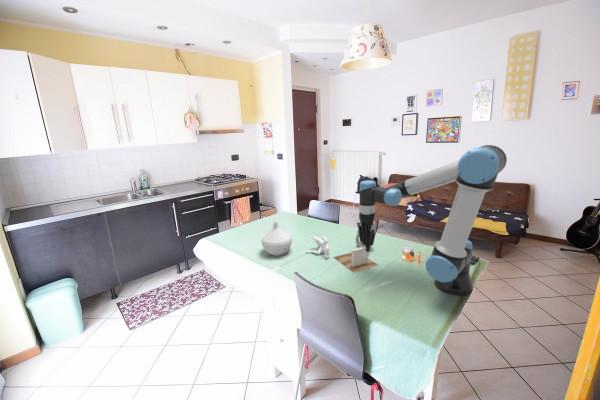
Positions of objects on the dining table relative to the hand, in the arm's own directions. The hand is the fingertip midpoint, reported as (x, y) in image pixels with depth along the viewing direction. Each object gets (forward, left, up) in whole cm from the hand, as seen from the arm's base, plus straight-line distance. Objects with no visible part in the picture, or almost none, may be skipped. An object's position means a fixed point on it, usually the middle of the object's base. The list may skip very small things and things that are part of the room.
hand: (366, 256), depth 142 cm
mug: (+20, -14, -8) cm, 26 cm away
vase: (+44, +32, -8) cm, 55 cm away
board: (+9, 0, -8) cm, 12 cm away
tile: (+5, 0, -7) cm, 9 cm away
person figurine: (+29, +10, -9) cm, 31 cm away
